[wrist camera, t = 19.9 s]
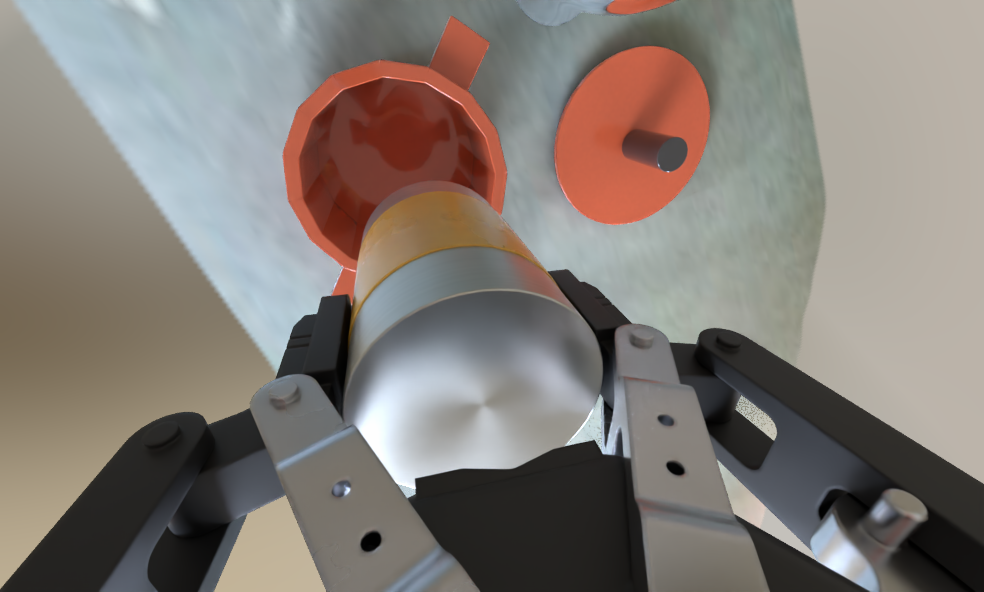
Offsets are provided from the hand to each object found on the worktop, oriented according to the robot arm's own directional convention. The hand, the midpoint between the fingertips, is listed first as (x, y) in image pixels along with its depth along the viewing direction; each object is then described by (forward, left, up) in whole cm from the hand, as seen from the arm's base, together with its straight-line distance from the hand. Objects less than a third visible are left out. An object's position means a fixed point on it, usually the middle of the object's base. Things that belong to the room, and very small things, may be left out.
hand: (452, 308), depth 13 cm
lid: (+15, +10, -20) cm, 27 cm away
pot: (-1, 0, -21) cm, 21 cm away
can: (0, 0, -5) cm, 5 cm away
